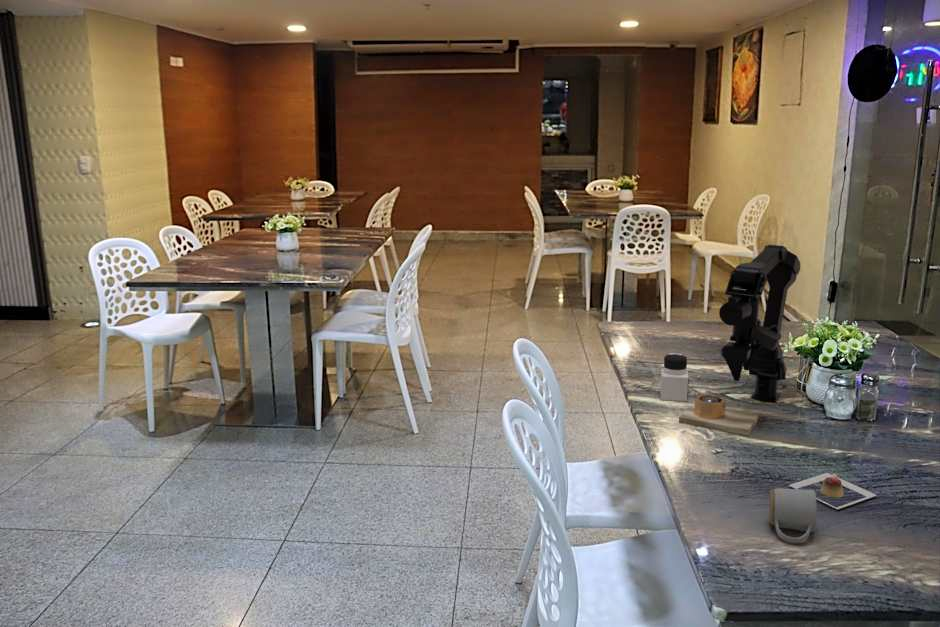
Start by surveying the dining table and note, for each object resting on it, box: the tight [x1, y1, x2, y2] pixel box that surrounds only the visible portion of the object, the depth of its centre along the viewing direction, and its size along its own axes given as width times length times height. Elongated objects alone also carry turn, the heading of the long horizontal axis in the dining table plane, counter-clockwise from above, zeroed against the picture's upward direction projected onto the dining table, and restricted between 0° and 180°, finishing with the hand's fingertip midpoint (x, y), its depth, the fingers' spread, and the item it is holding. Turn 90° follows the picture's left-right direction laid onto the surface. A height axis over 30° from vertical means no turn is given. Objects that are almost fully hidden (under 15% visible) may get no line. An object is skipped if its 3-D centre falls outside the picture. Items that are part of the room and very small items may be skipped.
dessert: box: [788, 472, 877, 510], centre depth 163 cm, size 12×12×5 cm
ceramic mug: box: [768, 487, 818, 545], centre depth 148 cm, size 11×8×8 cm
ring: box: [694, 393, 727, 419], centre depth 202 cm, size 7×7×4 cm
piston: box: [702, 397, 718, 403], centre depth 202 cm, size 4×4×4 cm
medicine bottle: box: [659, 353, 690, 402], centre depth 218 cm, size 7×7×12 cm
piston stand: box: [678, 402, 760, 436], centre depth 202 cm, size 12×17×2 cm
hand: (741, 375), depth 201 cm, fingers open, 9 cm apart
